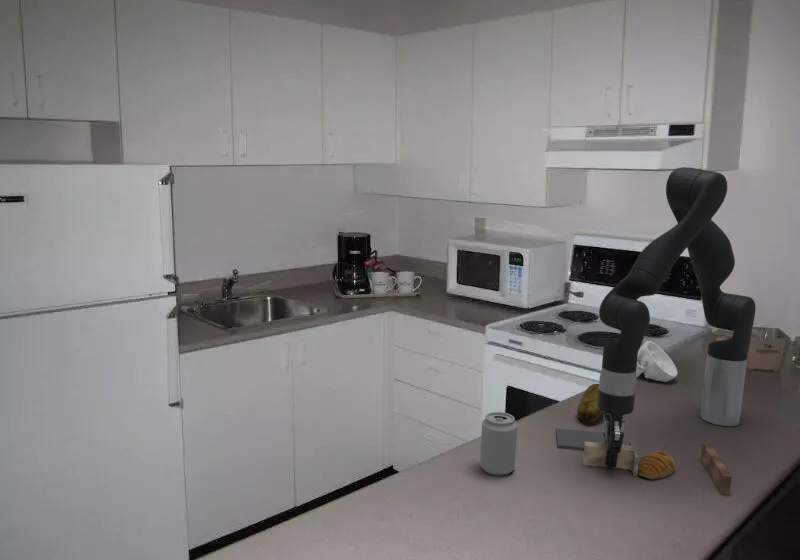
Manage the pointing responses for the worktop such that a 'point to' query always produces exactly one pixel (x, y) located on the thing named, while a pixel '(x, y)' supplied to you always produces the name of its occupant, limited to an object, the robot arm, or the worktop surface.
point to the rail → (716, 468)
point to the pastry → (656, 465)
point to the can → (498, 443)
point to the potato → (589, 405)
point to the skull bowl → (655, 363)
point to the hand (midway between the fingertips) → (609, 463)
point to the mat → (577, 438)
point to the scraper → (625, 458)
